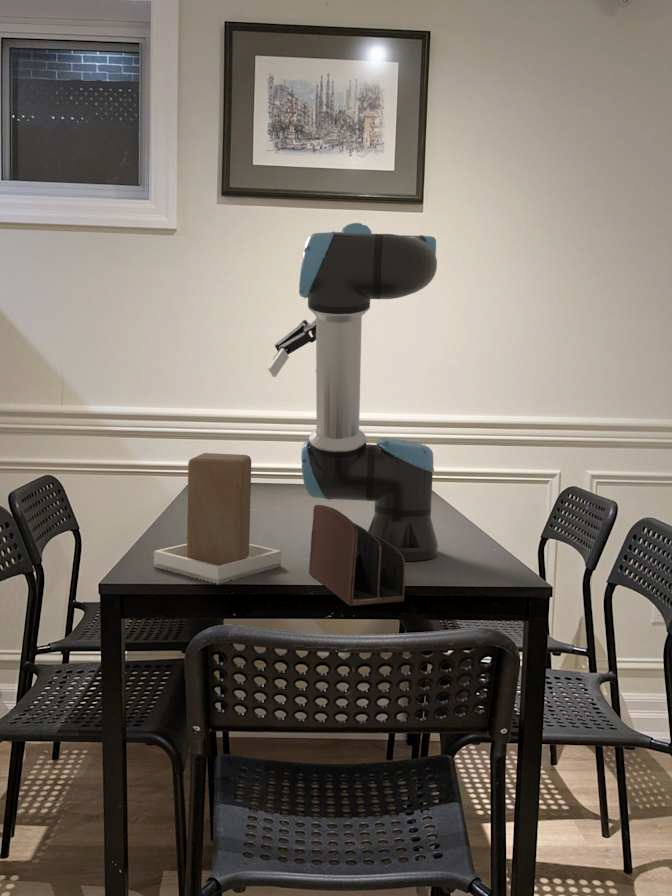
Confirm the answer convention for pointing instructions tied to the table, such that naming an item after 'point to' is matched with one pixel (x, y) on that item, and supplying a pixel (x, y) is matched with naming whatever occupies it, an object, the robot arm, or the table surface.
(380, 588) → the letter holder
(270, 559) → the tray
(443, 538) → the table surface
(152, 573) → the table surface
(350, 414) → the robot arm
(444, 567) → the table surface
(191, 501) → the block
